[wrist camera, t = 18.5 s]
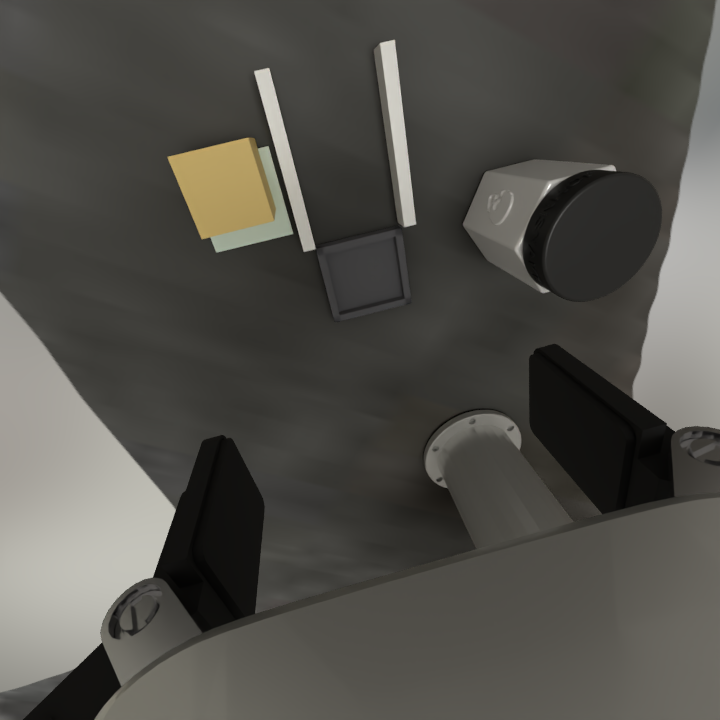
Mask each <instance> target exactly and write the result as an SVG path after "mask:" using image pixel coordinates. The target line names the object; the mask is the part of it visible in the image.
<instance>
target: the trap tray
mask: <svg viewBox="0 0 720 720" xmlns="http://www.w3.org/2000/svg"><path fill="white" fill-rule="evenodd" d="M315 248H316V252H317V256H318V260H319V264H320V268H321V271H322V275H323V279H324V283H325V287H326V291H327V295H328V299H329V302H330V306H331V310H332V314H333V318H334V322H335V323H336V322H340V321H344V320H347V319H351V318H355V317H359V316H363V315H367V314H371V313H375V312H379V311H383V310H387V309H391V308H394V307H398V306H402V305H406V304H410V303H412V301H411V293H410V286H409V278H408V271H407V264H406V256H405V249H404V242H403V234H402V228H401V227H400V226H398V225H397V226H393V227H389V228H385V229H381V230H377V231H373V232H369V233H365V234H361V235H357V236H353V237H348V238H344V239H340V240H336V241H332V242H328V243H324V244H320V245H316V246H315Z"/></svg>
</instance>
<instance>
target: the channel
mask: <svg viewBox="0 0 720 720" xmlns="http://www.w3.org/2000/svg"><path fill="white" fill-rule="evenodd" d="M374 57H375V64H376V71H377V78H378V86H379V93H380V100H381V107H382V114H383V121H384V128H385V136H386V143H387V150H388V157H389V164H390V171H391V178H392V185H393V193H394V200H395V207H396V214H397V221H398V223H399V224H401V225H402V226H403V227H408V226H412V225H416V220H415V211H414V203H413V194H412V185H411V177H410V168H409V160H408V151H407V142H406V134H405V125H404V116H403V108H402V99H401V91H400V82H399V73H398V65H397V56H396V48H395V40H392V41H387V42H383V43H380V44H379V45H378V46H377V47H376V48H375V49H374ZM254 73H255V77H256V80H257V84H258V87H259V91H260V95H261V98H262V102H263V106H264V109H265V113H266V116H267V120H268V124H269V127H270V131H271V135H272V138H273V142H274V145H275V149H276V153H277V156H278V160H279V164H280V167H281V171H282V174H283V178H284V182H285V185H286V189H287V193H288V196H289V200H290V203H291V207H292V211H293V214H294V218H295V222H296V225H297V229H298V232H299V236H300V240H301V243H302V247H303V251H304V252H306V251H310V250H314V249H316V248H315V244H314V240H313V236H312V232H311V228H310V225H309V221H308V217H307V213H306V209H305V205H304V201H303V197H302V194H301V190H300V186H299V182H298V178H297V174H296V170H295V166H294V163H293V159H292V155H291V151H290V147H289V143H288V139H287V135H286V132H285V128H284V124H283V120H282V116H281V112H280V108H279V104H278V101H277V97H276V93H275V89H274V85H273V81H272V77H271V73H270V70H269V68H267V69H263V70H258V71H254Z"/></svg>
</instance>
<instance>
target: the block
mask: <svg viewBox="0 0 720 720" xmlns="http://www.w3.org/2000/svg"><path fill="white" fill-rule="evenodd" d="M168 160H169V162H170V164H171V167H172V169H173V172H174V174H175V176H176V179H177V181H178V183H179V186H180V188H181V191H182V193H183V195H184V198H185V200H186V203H187V205H188V207H189V210H190V212H191V215H192V217H193V219H194V222H195V224H196V226H197V229H198V231H199V234H200V236H201V238H202V239H205V238H209V237H213V236H217V235H221V234H225V233H229V232H233V231H237V230H241V229H245V228H249V227H253V226H257V225H261V224H265V223H269V222H273V221H274V219H275V212H276V207H275V204H274V201H273V197H272V194H271V191H270V187H269V184H268V181H267V178H266V174H265V171H264V168H263V164H262V161H261V158H260V155H259V151H258V148H257V145H256V141H255V138H244V139H240V140H236V141H232V142H227V143H223V144H219V145H215V146H211V147H207V148H203V149H199V150H194V151H190V152H186V153H182V154H178V155H174V156H170V157H168Z"/></svg>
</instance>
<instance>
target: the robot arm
mask: <svg viewBox="0 0 720 720" xmlns="http://www.w3.org/2000/svg"><path fill="white" fill-rule="evenodd" d="M529 410H530V427H531V430H532V432H533V433H534V435H535V436H536V437H537V438H538V439H539V440H540V442H541V443H542V444H543V445H544V446H545V447H546V449H547V450H548V451H549V452H550V453H551V454H552V456H553V457H554V458H555V459H556V460H557V461H558V463H559V464H560V465H561V466H562V467H563V468H564V470H565V471H566V472H567V473H568V474H569V475H570V477H571V478H572V479H573V480H574V481H575V483H576V484H577V485H578V486H579V487H580V488H581V490H582V491H583V492H584V493H585V494H586V495H587V497H588V498H589V499H590V500H591V501H592V502H593V504H594V505H595V506H596V507H597V508H598V509H599V511H600V512H601V513H602V515H598V516H594V517H591V518H587V519H583V520H580V521H576V522H573V521H572V520H571V518H570V517H569V516H568V514H567V513H566V512H565V510H564V509H563V508H562V506H561V505H560V504H559V502H558V501H557V500H556V498H555V497H554V496H553V494H552V493H551V492H550V490H549V489H548V488H547V486H546V485H545V484H544V483H543V481H542V480H541V479H540V477H539V476H538V475H537V473H536V472H535V471H534V469H533V468H532V467H531V465H530V464H529V463H528V461H527V460H526V459H525V457H524V456H523V455H522V453H521V452H520V451H519V450H520V447H521V433H520V431H519V428H518V427H517V426H516V424H515V423H514V422H513V420H512V419H510V418H509V417H508V416H507V415H505V414H503V413H501V412H498V411H494V410H475V411H471V412H467V413H464V414H461V415H459V416H457V417H455V418H453V419H451V420H449V421H448V422H446V423H445V424H444V425H442V426H441V427H440V428H439V429H438V430H437V431H436V432H435V433H434V434H433V435H432V437H431V438H430V440H429V441H428V443H427V446H426V448H425V451H424V456H423V457H424V466H425V469H426V471H427V473H428V475H429V477H430V478H431V479H432V481H433V482H435V483H436V484H438V485H439V486H442V487H444V488H448V490H449V492H450V494H451V496H452V498H453V500H454V503H455V505H456V507H457V509H458V511H459V513H460V515H461V518H462V520H463V522H464V524H465V526H466V528H467V530H468V533H469V535H470V537H471V539H472V541H473V543H474V545H475V548H476V550H472V551H469V552H465V553H462V554H458V555H455V556H451V557H448V558H444V559H441V560H437V561H434V562H430V563H427V564H423V565H420V566H416V567H413V568H409V569H406V570H402V571H399V572H395V573H391V574H388V575H385V576H381V577H378V578H374V579H371V580H367V581H364V582H361V583H357V584H354V585H350V586H347V587H343V588H340V589H336V590H333V591H330V592H326V593H323V594H319V595H316V596H312V597H309V598H305V599H302V600H299V601H296V602H292V603H289V604H286V605H283V606H279V607H276V608H273V609H270V610H266V611H263V612H260V613H257V614H255V607H256V596H257V585H258V574H259V564H260V553H261V542H262V531H263V520H264V501H263V498H262V496H261V494H260V492H259V490H258V488H257V486H256V484H255V482H254V480H253V478H252V476H251V474H250V472H249V470H248V468H247V466H246V465H245V463H244V461H243V459H242V457H241V455H240V453H239V451H238V449H237V447H236V445H235V443H234V441H233V440H232V439H231V438H228V439H226V437H225V436H224V435H220V436H217V437H213V438H209V439H206V440H204V441H203V442H202V444H201V447H200V450H199V453H198V456H197V459H196V462H195V465H194V468H193V471H192V474H191V477H190V480H189V483H188V486H187V489H186V491H185V492H183V493H182V495H181V497H180V500H179V503H178V506H177V509H176V512H175V515H174V518H173V521H172V524H171V526H170V529H169V532H168V535H167V538H166V541H165V544H164V547H163V550H162V553H161V556H160V559H159V561H158V565H157V567H156V570H155V573H154V576H153V578H149V579H144V580H142V581H140V582H138V583H136V584H134V585H133V586H131V587H130V588H129V589H127V590H126V591H125V592H124V593H123V594H122V595H121V596H120V597H119V598H118V599H117V600H116V601H115V602H114V603H113V605H112V606H111V608H110V609H109V610H108V612H107V614H106V616H105V618H104V620H103V623H102V627H101V632H100V633H101V640H102V643H101V644H100V645H99V646H98V647H97V648H96V649H95V650H94V651H93V652H92V653H91V654H90V655H89V656H88V657H87V658H86V659H85V660H84V661H83V662H82V663H81V664H80V665H79V666H78V667H77V668H75V669H74V670H73V671H72V672H71V673H70V674H69V675H68V676H67V677H66V678H65V679H64V680H63V681H62V682H61V683H60V684H59V685H58V686H57V687H56V688H55V689H54V690H53V691H52V692H51V693H50V694H49V695H48V696H47V697H46V698H45V699H44V700H43V701H42V702H41V703H40V704H39V705H38V706H37V707H36V708H34V709H33V710H32V711H31V712H30V713H29V714H28V715H27V716H26V717H25V718H24V719H23V720H720V430H719V429H715V428H710V427H699V426H694V427H685V428H682V429H680V430H677V431H676V432H675V431H673V430H672V429H670V428H669V427H668V426H667V423H665V422H664V421H662V420H661V419H659V418H658V417H657V416H655V415H654V414H653V413H651V412H650V411H649V410H647V409H646V408H644V407H643V406H642V405H640V404H639V403H637V402H636V401H635V400H633V399H632V398H630V397H629V396H628V395H626V394H625V393H624V392H622V391H621V390H619V389H618V388H617V387H615V386H614V385H612V384H611V383H610V382H608V381H607V380H606V379H604V378H603V377H601V376H600V375H599V374H597V373H596V372H594V371H593V370H592V369H590V368H589V367H588V366H586V365H585V364H583V363H582V362H581V361H579V360H578V359H576V358H575V357H574V356H572V355H571V354H569V353H568V352H567V351H565V350H564V349H563V348H561V347H560V346H558V345H556V344H552V345H548V346H545V347H541V348H537V349H536V350H535V351H534V354H533V355H531V356H530V358H529Z"/></svg>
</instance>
